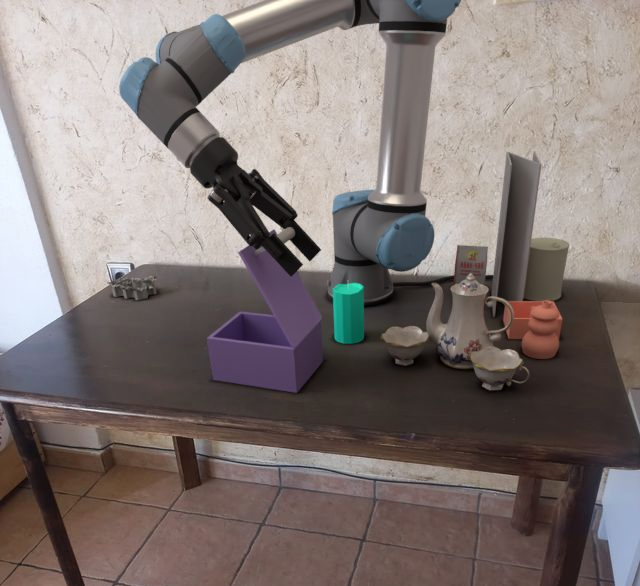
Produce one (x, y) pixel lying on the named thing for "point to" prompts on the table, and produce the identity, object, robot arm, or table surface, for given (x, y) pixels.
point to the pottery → (535, 327)
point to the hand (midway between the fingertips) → (306, 262)
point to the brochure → (515, 227)
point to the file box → (263, 353)
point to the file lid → (282, 291)
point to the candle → (348, 313)
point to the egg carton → (133, 287)
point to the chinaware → (460, 336)
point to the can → (545, 269)
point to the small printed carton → (470, 263)
